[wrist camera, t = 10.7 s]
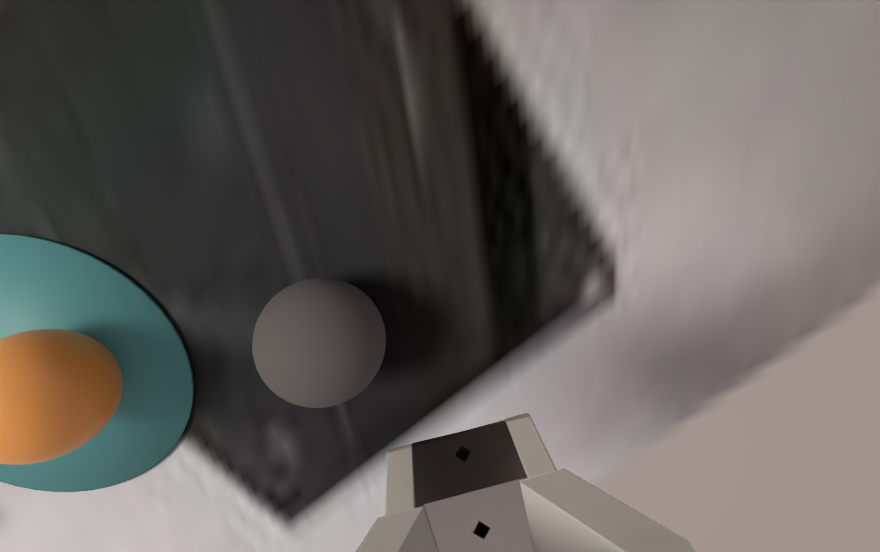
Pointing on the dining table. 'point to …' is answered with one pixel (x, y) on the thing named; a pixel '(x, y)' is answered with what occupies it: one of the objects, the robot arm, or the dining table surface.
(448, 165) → the dining table surface
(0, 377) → the orange ball
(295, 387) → the gray ball
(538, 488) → the robot arm
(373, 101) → the dining table surface
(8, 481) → the teal ellipsoid
